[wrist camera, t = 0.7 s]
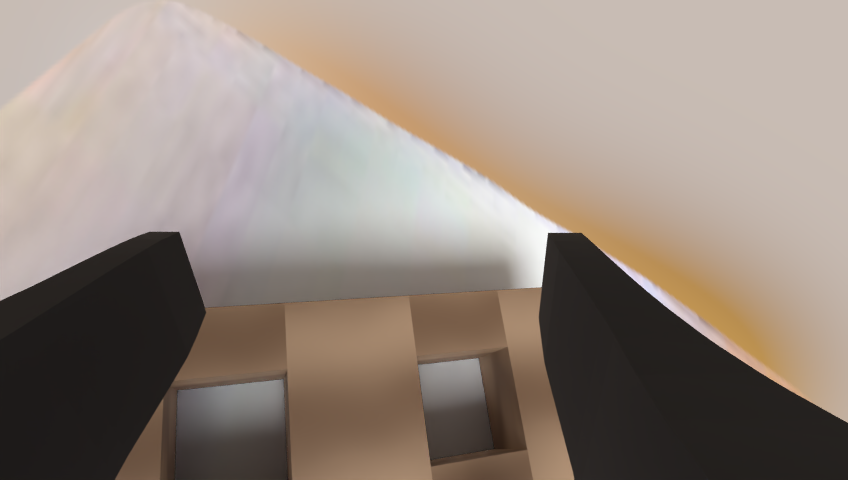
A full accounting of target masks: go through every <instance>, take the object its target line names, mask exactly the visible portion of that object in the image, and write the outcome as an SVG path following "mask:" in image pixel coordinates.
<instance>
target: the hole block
mask: <svg viewBox="0 0 848 480" xmlns="http://www.w3.org/2000/svg"><path fill="white" fill-rule="evenodd" d="M541 291H542V287H541V288H524V289H508V290H491V291H475V292H458V293H442V294H425V295H409V296H392V297H376V298H359V299H343V300H326V301H310V302H293V303H277V304H260V305H244V306H227V307H211V308H205V310H206V314H205V317H204V320H203V322H202V325H201V327H200V330H199V332H198V335H197V337H196V340H195V342H194V344H193V346H192V349H191V351H190V353H189V355H188V357H187V359H186V361H185V362H184V364H183V366H182V368H181V369H180V371H179V373H178V374H177V376H176V378H175V379H174V381H173V383H172V384H171V386H170V388H169V390H168V391H167V393H166V394H165V396H164V398H163V399H162V401H161V403H160V404H159V406H158V408H157V409H156V411H155V412H154V414H153V416H152V417H151V419H150V421H149V422H148V424H147V426H146V427H145V429H144V431H143V432H142V434H141V435H140V437H139V439H138V440H137V442H136V444H135V445H134V447H133V449H132V450H131V452H130V454H129V455H128V457H127V459H126V461H125V462H124V464H123V466H122V468H121V470H120V471H119V473H118V475H117V477H116V479H115V480H175V453H176V418H177V390H186V389H195V388H204V387H213V386H223V385H232V384H241V383H251V382H260V381H269V380H279V379H284V399H285V424H286V449H287V474H288V480H574V475H573V471H572V467H571V463H570V459H569V455H568V452H567V448H566V444H565V440H564V436H563V433H562V429H561V425H560V421H559V417H558V414H557V410H556V406H555V402H554V398H553V395H552V391H551V387H550V383H549V379H548V375H547V371H546V367H545V363H544V356H543V349H542V342H541V333H540V325H539V308H540V300H541ZM474 358H479V362H480V368H481V373H482V379H483V385H484V391H485V397H486V403H487V409H488V415H489V421H490V427H491V432H492V438H493V444H494V449H490V450H485V451H479V452H473V453H467V454H462V455H456V456H450V457H444V458H438V459H433V460H430V457H429V449H428V441H427V433H426V426H425V418H424V410H423V402H422V395H421V387H420V379H419V371H418V364H428V363H437V362H446V361H456V360H465V359H474Z"/></svg>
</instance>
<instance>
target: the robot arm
mask: <svg viewBox="0 0 848 480" xmlns="http://www.w3.org/2000/svg"><path fill="white" fill-rule="evenodd" d="M205 314H206V310H205V307H204V304H203V301H202V298H201V295H200V292H199V289H198V286H197V283H196V280H195V277H194V274H193V271H192V268H191V265H190V262H189V259H188V256H187V254H186V251H185V248H184V245H183V242H182V239H181V236H180V233H179V232H148V233H145V234H142V235H140V236H137V237H134V238H132V239H130V240H127V241H125V242H123V243H120V244H118V245H116V246H114V247H112V248H110V249H107V250H105V251H103V252H101V253H99V254H97V255H95V256H93V257H91V258H89V259H87V260H85V261H83V262H81V263H79V264H77V265H75V266H72V267H70V268H68V269H66V270H64V271H62V272H60V273H58V274H56V275H54V276H52V277H50V278H48V279H46V280H44V281H42V282H40V283H38V284H36V285H34V286H32V287H29V288H27V289H25V290H23V291H21V292H19V293H16V294H14V295H12V296H10V297H8V298H6V299H3V300H1V301H0V480H115V479H116V477H117V475H118V473H119V471H120V470H121V468H122V466H123V464H124V462H125V461H126V459H127V457H128V455H129V454H130V452H131V450H132V449H133V447H134V445H135V444H136V442H137V440H138V439H139V437H140V435H141V434H142V432H143V431H144V429H145V427H146V426H147V424H148V422H149V421H150V419H151V417H152V416H153V414H154V412H155V411H156V409H157V408H158V406H159V404H160V403H161V401H162V399H163V398H164V396H165V394H166V393H167V391H168V390H169V388H170V386H171V384H172V383H173V381H174V379H175V378H176V376H177V374H178V373H179V371H180V369H181V368H182V366H183V364H184V362H185V361H186V359H187V357H188V355H189V353H190V351H191V349H192V346H193V344H194V342H195V340H196V337H197V335H198V332H199V330H200V327H201V325H202V322H203V320H204V317H205ZM539 325H540V333H541V342H542V349H543V356H544V363H545V367H546V371H547V375H548V379H549V383H550V387H551V391H552V395H553V398H554V402H555V406H556V410H557V414H558V417H559V421H560V425H561V429H562V433H563V436H564V440H565V444H566V448H567V452H568V455H569V459H570V463H571V467H572V471H573V475H574V480H848V423H847V422H845V421H843V420H841V419H840V418H838V417H836V416H834V415H832V414H831V413H829V412H827V411H825V410H823V409H822V408H820V407H818V406H816V405H815V404H813V403H811V402H809V401H807V400H806V399H804V398H802V397H800V396H798V395H797V394H795V393H793V392H791V391H789V390H788V389H786V388H784V387H783V386H781V385H779V384H778V383H776V382H774V381H773V380H771V379H769V378H768V377H766V376H764V375H763V374H761V373H759V372H758V371H756V370H755V369H753V368H752V367H750V366H749V365H747V364H746V363H744V362H743V361H741V360H739V359H738V358H736V357H735V356H733V355H732V354H730V353H729V352H727V351H726V350H724V349H723V348H721V347H719V346H718V345H717V344H715V343H714V342H712V341H711V340H709V339H708V338H707V337H705V336H704V335H702V334H701V333H700V332H698V331H697V330H696V329H694V328H693V327H692V326H690V325H689V324H688V323H686V322H685V321H684V320H682V319H681V318H680V317H678V316H677V315H676V314H674V313H673V312H672V311H670V310H669V309H668V308H667V307H665V306H664V305H663V304H662V303H660V302H659V301H658V300H657V299H656V298H654V297H653V296H652V295H651V294H650V293H648V292H647V291H646V290H645V289H644V288H642V287H641V286H640V285H639V284H638V283H637V282H635V281H634V280H633V279H632V278H631V277H630V276H629V275H627V274H626V273H625V272H624V271H623V270H622V269H621V268H620V267H618V266H617V265H616V264H615V263H614V262H613V261H612V260H611V259H610V258H609V257H607V256H606V255H605V254H604V253H603V252H602V251H601V250H600V249H599V248H598V247H597V246H595V245H594V244H593V243H592V242H591V241H590V240H589V239H588V238H587V237H585V236H584V235H583V234H582V233H548V238H547V247H546V256H545V265H544V273H543V282H542V291H541V300H540V308H539Z"/></svg>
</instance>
